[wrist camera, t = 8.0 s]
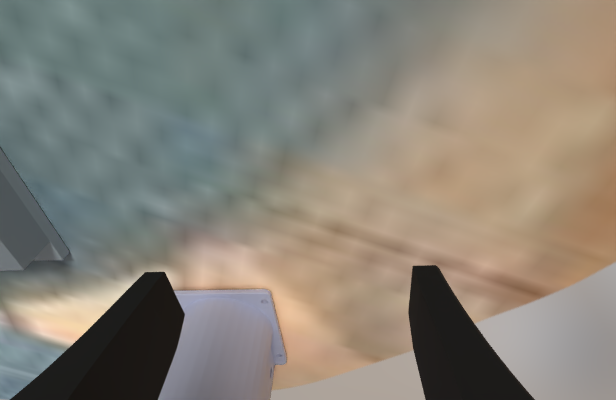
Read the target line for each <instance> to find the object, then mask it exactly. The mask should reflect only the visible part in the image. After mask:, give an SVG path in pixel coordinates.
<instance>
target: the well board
mask: <svg viewBox="0 0 616 400" xmlns="http://www.w3.org/2000/svg"><path fill="white" fill-rule="evenodd" d="M69 252H70V251H69V250H68V248H67V247H66V245H65V244H64V242H63V241H62V239H61V238H60V236H59V235H58V233H57V232H56V230H55V229H54V227H53V226H52V224H51V223H50V221H49V220H48V218H47V217H46V216H45V214H44V213H43V211H42V210H41V208H40V207H39V205H38V204H37V202H36V201H35V199H34V198H33V196H32V195H31V193H30V192H29V190H28V189H27V187H26V186H25V184H24V183H23V181H22V180H21V178H20V177H19V175H18V174H17V172H16V171H15V169H14V168H13V166H12V165H11V163H10V162H9V160H8V159H7V157H6V156H5V154H4V153H3V151H2V150H1V148H0V271H10V270H25V269H26V268H27V266H28V265H29V264H30V263H31V262H32V261H49V260H63V259H64V258H65V257H66V256H67V254H68V253H69Z"/></svg>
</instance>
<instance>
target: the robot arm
mask: <svg viewBox="0 0 616 400" xmlns="http://www.w3.org/2000/svg"><path fill="white" fill-rule="evenodd" d="M409 320H410V328H411V335H412V342H413V349H414V353H415V357H416V362H417V365H418V370H419V374H420V378H421V382H422V386H423V390H424V395H425V399H426V400H535V399H534V398H533V397H532V396H531V395H530V394H529V393H528V392H527V391H526V389H525V388H524V387H523V386H522V385H521V383H520V382H519V381H518V380H517V379H516V378H515V376H514V375H513V374H512V373H511V371H510V370H509V369H508V368H507V366H506V365H505V364H504V363H503V361H502V360H501V359H500V358H499V356H498V355H497V354H496V352H495V351H494V350H493V349H492V347H491V346H490V345H489V343H488V342H487V341H486V339H485V338H484V337H483V335H482V334H481V332H480V331H479V330H478V328H477V327H476V325H475V324H474V323H473V321H472V320H471V318H470V317H469V316H468V314H467V313H466V311H465V310H464V308H463V307H462V305H461V304H460V302H459V301H458V299H457V297H456V296H455V294H454V293H453V291H452V290H451V288H450V286H449V285H448V283H447V281H446V280H445V278H444V276H443V274H442V273H441V271H440V269H439V268H438V267H437V266H436V265H432V266H413V269H412V280H411V290H410V301H409ZM286 362H287V356H286V352H285V348H284V344H283V340H282V336H281V332H280V328H279V324H278V320H277V315H276V311H275V307H274V303H273V299H272V295H271V292H270V291H268V290H266V289H236V290H181V291H174V290H173V288H172V286H171V284H170V282H169V280H168V278H167V276H166V274H165V272H145V273H144V274H143V275H142V276H141V277H140V278H139V279H138V280H137V281H136V282H135V283H134V284H133V285H132V286H131V287H130V288H129V289H128V290H127V291H126V292H125V293H124V294H123V295H122V296H121V297H120V298H119V299H118V300H117V301H116V302H115V303H114V304H113V305H112V306H111V307H110V308H109V309H108V310H107V311H106V312H105V313H104V314H103V315H102V316H101V317H100V318H99V319H98V320H97V321H96V322H95V323H94V324H93V325H92V326H91V327H90V328H89V329H88V330H87V331H86V332H85V333H84V334H83V335H82V336H81V337H80V338H79V339H78V340H77V341H76V342H75V343H74V344H73V345H72V346H71V347H70V348H68V349H67V350H66V351H65V352H64V353H63V354H62V355H61V356H60V357H59V358H58V359H57V360H56V361H54V362H53V363H52V364H51V365H50V366H49V367H48V368H47V369H46V370H45V371H43V372H42V373H41V374H40V375H39V376H38V377H37V378H35V379H34V380H33V381H32V382H31V383H30V384H28V385H27V386H26V387H25V388H23V389H22V390H21V391H20V392H19V393H17V394H16V395H15V396H14V397H13V398H11V399H10V400H270V396H271V389H272V382H273V375H274V367H275V365H284V364H286Z"/></svg>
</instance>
